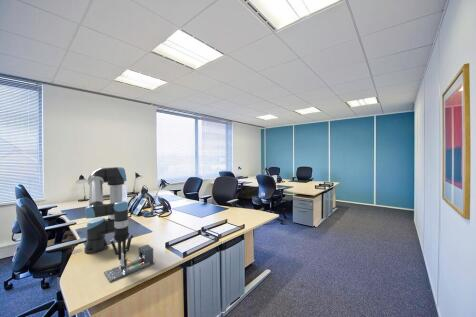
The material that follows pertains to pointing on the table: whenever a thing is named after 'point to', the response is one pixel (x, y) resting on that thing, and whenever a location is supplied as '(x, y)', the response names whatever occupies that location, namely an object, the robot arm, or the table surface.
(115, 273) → the gauge base
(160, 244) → the table surface
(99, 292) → the table surface
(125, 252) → the robot arm
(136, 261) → the orange-striped grey block
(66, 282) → the table surface
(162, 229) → the table surface
